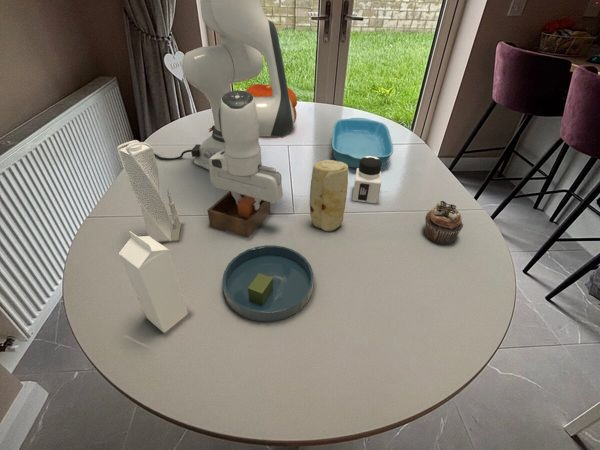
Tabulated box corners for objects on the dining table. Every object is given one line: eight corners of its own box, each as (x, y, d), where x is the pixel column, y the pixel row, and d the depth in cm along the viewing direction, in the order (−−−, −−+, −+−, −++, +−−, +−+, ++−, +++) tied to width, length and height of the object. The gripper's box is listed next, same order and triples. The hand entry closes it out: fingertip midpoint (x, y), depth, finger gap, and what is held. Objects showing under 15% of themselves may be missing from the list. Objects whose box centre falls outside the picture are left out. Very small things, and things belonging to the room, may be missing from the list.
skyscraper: (177, 244, 87) (149, 145, 70) (145, 247, 86) (108, 147, 68) (181, 224, 94) (156, 129, 76) (151, 227, 92) (118, 131, 75)
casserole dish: (393, 177, 116) (397, 159, 112) (329, 173, 118) (330, 154, 114) (383, 134, 145) (386, 118, 141) (332, 131, 147) (334, 115, 142)
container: (376, 204, 104) (384, 167, 95) (352, 200, 105) (357, 164, 97) (377, 191, 110) (384, 155, 101) (353, 188, 111) (359, 152, 102)
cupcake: (457, 249, 88) (470, 219, 81) (419, 241, 90) (429, 211, 84) (457, 228, 95) (469, 199, 89) (422, 220, 97) (431, 192, 91)
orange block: (238, 215, 92) (237, 203, 89) (247, 206, 95) (246, 194, 92) (249, 218, 90) (248, 206, 88) (258, 209, 94) (257, 197, 91)
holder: (210, 226, 93) (207, 210, 90) (234, 203, 102) (232, 187, 99) (248, 239, 89) (247, 222, 86) (271, 213, 98) (270, 198, 95)
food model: (341, 218, 97) (348, 156, 85) (344, 233, 92) (353, 169, 80) (308, 218, 97) (310, 156, 85) (309, 233, 92) (312, 169, 79)
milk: (171, 301, 73) (144, 221, 59) (189, 315, 70) (165, 234, 56) (146, 319, 69) (111, 238, 55) (164, 335, 66) (132, 254, 53)
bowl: (206, 302, 73) (203, 292, 70) (253, 246, 87) (252, 236, 85) (289, 337, 66) (289, 327, 64) (325, 270, 81) (326, 260, 79)
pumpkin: (307, 126, 150) (308, 80, 138) (278, 144, 135) (277, 94, 123) (266, 116, 160) (264, 71, 147) (235, 131, 145) (229, 83, 132)
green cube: (249, 300, 73) (247, 288, 70) (259, 284, 76) (258, 272, 74) (263, 305, 72) (262, 293, 69) (273, 290, 75) (272, 277, 73)
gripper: (286, 164, 82) (287, 209, 91) (217, 148, 88) (223, 192, 97) (275, 176, 78) (276, 222, 86) (202, 158, 84) (211, 203, 92)
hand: (248, 206), depth 92 cm, fingers closed on orange block, 3 cm apart
